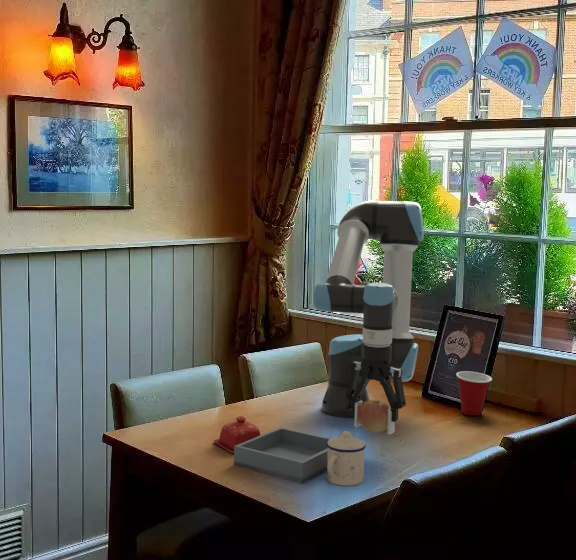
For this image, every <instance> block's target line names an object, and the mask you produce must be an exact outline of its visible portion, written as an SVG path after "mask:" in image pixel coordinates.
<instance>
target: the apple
mask: <svg viewBox="0 0 576 560" xmlns="http://www.w3.org/2000/svg"><path fill="white" fill-rule="evenodd" d="M390 408H391V407H390V404H389V403H387V402H386V401H384V400H378V399H376V400H371V399H370V400H368V401H365V402H364V403H362V404H361V406H360V407H359V410H358V418H359V421H360V423H361V426H362V428H364V430H365V431H368V432H370V433H373V434H374V433H375V434H378V433H382V432H384V431H387V425H388V409H390Z"/></svg>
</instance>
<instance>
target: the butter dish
mask: <svg viewBox="0 0 576 560" xmlns="http://www.w3.org/2000/svg"><path fill="white" fill-rule="evenodd" d="M220 430H221V431H220V434H219V438H217V439H214V440H213V443H214V444H216V445H218V446H220V447H221V448H223V449H224V450H226V451H227V452H229V453H232V454H234V446H236V445H238V444H241V443H243V442H246V441H248V440H251V439H253V438H255V437H258V436H260V435H261V431H260V429H259V428H258V426H257V425H255V424H254V423H251V422H249V421H247V418H246V417H245V416H243V415H241V416H240V415H239V416H237V417H236V418H235V421H231V422H228V423H226V424H224V425H223V426H222V427H221V429H220Z"/></svg>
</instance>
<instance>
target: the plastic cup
mask: <svg viewBox="0 0 576 560" xmlns="http://www.w3.org/2000/svg"><path fill="white" fill-rule="evenodd" d="M455 375H456V378H457V382H458V383H457V384H458V389H459V398H460V399H459V401H460V405H461V412H462V414H464V415H466V416H467V415H468V416H479V415H481V414H482V413H483V409H484V408H483V407H484V404H485V400H486V397H487V392H488V388H489V386H490V383H491V381H493V378H492V377H491V376H490V375H488V374H485V373H481V372H477V371H469V370H465V371H464V370H463V371H458V372H456V374H455Z"/></svg>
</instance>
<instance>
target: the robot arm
mask: <svg viewBox="0 0 576 560" xmlns="http://www.w3.org/2000/svg"><path fill="white" fill-rule="evenodd" d="M421 207H422V206H421V205H420V203H418V202H416V201H415V202H414V201H406V200H401V201H399V200H368V201H363V202H360V203H358V204H357V205H354V206H353V207H352V208H351V209H350V210H348V211H347V212H346V213H345V215H344V216H343V217H342V219H341V220H340V222H339V224H338V227H337V231H336V234H337V237H338V239H337V242H336V245H335V250H334V252H333V256H332V260H331V262H330V263H331V264H330V266H329V270H328V273H327V276H326V280H325V282H319V283H317V284H316V285H315V286H314V290H313V305H314V308H315V310H316V311H320V312H322V311H323V312H328V313H348V314H350V313H351V314H362V315H363V318H362V333H361V334H359V333H358V334H357V333H356V334H346V335H340V336H336V337H334V338H332V339H331V340H330V341H329V348H328V350H329V351H328V376H327V377H328V380H327V381H328V383H327V387H326V391H325V393H324V396H323V398H322V402H321V411H322V412H323V413H325V414H327V415H330V416H335V417H342V418H354V423H353V424H354V425H353V426H354V428H357V429H358V428H359V427H361V426H362V425H361V423H360V421H359V418H358V410H359V407H360V406H361V404H362V403H364V402H365V401H368V400H371V399H370V395H369V392H368V388H367V386H368V384H369V383H370V381H373V380H374V381H376V382H379V384H380V385H381V386H382V388H383V392H384V394H385V396H386V399H387V402H388V405H389V406H390V409H388V425H387V429H386V431H387V432H386V434H387V435H388V436H391V435H392V434H394V433H395V430H396V422H398V420H399V410H400V409H403V408H404V407H406V405H407V403H406V398H405V397H406V396H405V390H404V385H403V382H409V381H411V380H412V378H413V376H414V374H415V369H416V363H417V357H418V353H419V344H418V343H416V342H414V341H415V340H414V339H415V337H414V336H413V334H412V333H410V320H411V319H410V317H411V299H412V298H411V297H412V279H413V278H412V276H413V274H412V273H413V258H414V257H413V256H414V252H415V251H416V250H417V249H418V247H419V242H422V241H424V239H425V237H424V236H425V235H424V232H425V231H424V220H423V212H422V208H421ZM372 239H373V240H379V246H380V247H381V248H382V250H383V270H382V271H383V272H382V282H370V283H366V284H365V285H363V284H355V279H356V276H357V272H358V267H359V263H360V261H361V260H360V259H361V257H362V252H363V248H364V245H365V244H366V243H367V242H368V240H372ZM392 382H393V385H392ZM393 387H394V389H393Z"/></svg>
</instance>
